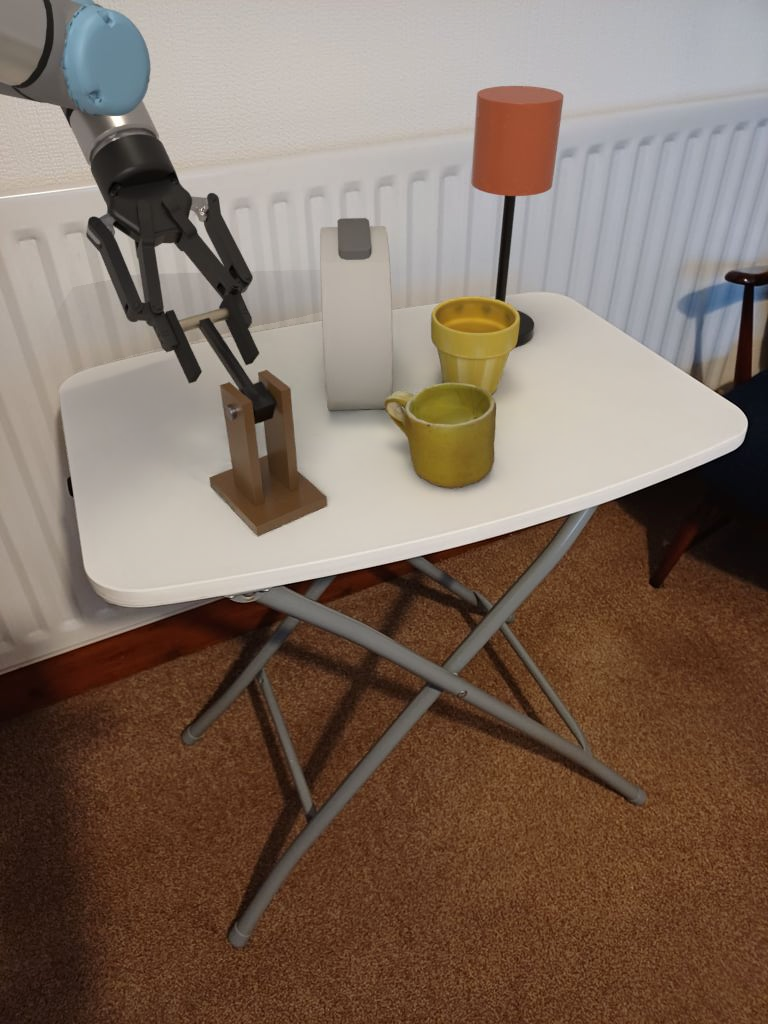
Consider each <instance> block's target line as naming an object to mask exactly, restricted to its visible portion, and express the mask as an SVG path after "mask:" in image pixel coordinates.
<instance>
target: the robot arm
mask: <svg viewBox="0 0 768 1024" xmlns="http://www.w3.org/2000/svg"><path fill="white" fill-rule="evenodd" d="M151 70H152V69H151V58H150V52H149V49H148V46H147V43H146V40H145V39H144V36H143V34H142V33H141V31H140V29H139V28H138V27H137V26H136V25H135V23H134V22H133V21H132V20H131V19H130V18H129V17H128V16H126V15H125V14H123V13H121V12H120V11H117V10H115V9H111V8H107V7H103V5H100V4H98V3H95V1H94V0H0V95H2V96H7V97H12V98H16V99H22V100H26V101H33V102H36V103H40V104H48V105H52V106H53V105H54V106H58V107H60V109H61V111H62V113H63V115H64V117H65V119H66V121H67V124H68V125H69V127H70V129H71V130H72V133H73V135H74V137H75V139H76V142H77V144H78V146H79V149H80V151H81V152H82V154H83V157H84V159H85V161H86V163H87V165H88V166H89V167H90V172H91V175H92V177H93V179H94V181H95V183H96V185H97V188H98V190H99V192H100V194H101V196H102V199H103V201H104V202H105V204H106V207H107V208H106V209H107V210H106V213H105V214H104V215H102V216H100V217H97V216H95V215H93V216H90V217H89V218H88V221H87V226H86V232H85V236H86V238H87V239H88V241H89V242H90V243H91V244H92V245H93V246H94V247H95V248H96V250H97V251H98V252H99V254H100V256H101V259H102V261H103V264H104V266H105V268H106V271H107V274H108V276H109V278H110V281H111V283H112V285H113V288H114V290H115V292H116V295H117V297H118V300H119V303H120V304H121V305H120V306H121V307H122V310H123V312H124V314H125V316H126V319H127V321H129V322H131V323H137V322H138V321H141V322H145V323H146V325H148V326H149V327H151V328H152V329H153V330H154V333H155V335H156V337H157V339H158V342H159V344H160V346H161V348H162V349H163V351H164V352H165V353H170V352H174V355H175V356H176V359H177V360H178V362H179V365H180V367H181V369H182V371H183V373H184V376H185V378H186V380H187V382H188V384H193V383H195V382H197V381H198V379H199V377H200V376H201V374H202V372H203V370H202V368H201V366H200V364H199V361H198V360H197V357H196V356H195V353H194V351H193V349H192V347H191V344H190V342H189V340H188V338H187V336H186V334H185V332H184V331H183V329H182V327H181V325H180V323H179V321H178V320H179V318H178V316H177V314H176V312H175V310H174V309H170V310H167V311H165V307H164V300H163V293H162V286H161V280H160V279H161V278H160V272H159V267H158V260H157V253H156V248H157V247H158V246H161V245H162V244H174V245H175V246H176V248H177V249H178V250H179V251H180V252H182V253H184V254H185V255H186V256H187V257H188V259H189V260H190V261H191V263H192V264H193V265H194V266H195V268H196V269H197V270H198V271H199V272H200V273H201V275H202V276H203V277H204V278H205V279H206V281H207V282H208V283H209V284H210V286H211V287H212V288H213V290H215V292H216V293H217V294H218V296H219V297H220V298H221V299H222V301H221V302H220V305H219V306H218V309H220V308H224V307H226V308H227V309H228V311H229V313H230V318H229V319H228V320H224V321H225V324H226V326H227V328H228V330H229V333H230V334H231V337H232V339H233V341H234V343H235V345H236V348H237V350H238V352H239V354H240V355H241V358H242V361H243V362H244V365H245V366H248V365H251V364H253V363H254V362H255V360H256V359H257V358H258V356H259V355H260V351H259V348H258V346H257V345H256V342H255V340H254V337H253V336H252V334H251V331H250V329H249V328H250V327H251V325H252V323H253V317H252V315H251V313H250V310H249V309H248V306H247V304H246V302H245V300H244V298H243V296H242V295H243V294H244V293H245V292H247V290H248V288H249V287H250V285H251V284H252V281H253V279H254V277H253V274H252V271H251V270H250V268H249V265H248V264H247V262H246V260H245V258H244V256H243V255H242V252H241V251H240V248H239V246H238V245H237V243H236V241H235V238H234V237H233V235H232V233H231V230H230V229H229V226H228V225H227V223H226V221H225V219H224V216H223V215H222V212H221V211H222V210H221V204H220V203H221V202H220V197H219V196H218V195H217V194H216V193H214V192H210V193H208V194H207V195H206V197H202V196H192V195H191V193H190V192H189V191H188V190H187V189H185V188H184V186H183V185H182V184H181V183H180V180H179V176H178V174H177V172H176V169H175V167H174V165H173V163H172V160H171V158H170V156H169V154H168V152H167V150H166V148H165V146H164V144H163V142H162V141H161V140H160V134H159V132H158V130H157V128H156V126H155V124H154V122H153V119H152V118H151V116H150V114H149V111H148V109H147V107H146V105H145V103H144V101H143V100H144V98H145V97H146V94H147V92H148V89H149V83H150V81H151V80H150V79H151V78H150V75H151ZM191 212H194V214H196V217H197V218H198V221H199V222H201V223H203V226H204V229H205V231H206V234H207V236H208V238H209V240H210V241H211V243H212V245H213V248H214V249H215V251H216V254H217V255H216V254H215V253H214V251H212V249H211V248H210V247H209V246H208V245H207V243H206V242H205V241H204V240H203V238H202V237H201V235H199V233H198V229H197V227H196V226H195V225H194V223H193V222H192V221H191V219H190V213H191ZM115 229H117V230H118V231H120V232H122V234H124V235H126V236H127V237H129V238H130V239H132V240H133V242H134V247H135V253H136V254H135V255H136V258H137V260H138V261H137V262H138V267H139V274H140V281H141V286H142V288H141V289H142V293H143V301H144V302H143V301H142V300H141V298H140V294H139V292H138V290H137V287H136V285H135V282H134V280H133V278H132V276H131V273H130V271H129V268H128V266H127V263H126V261H125V258H124V256H123V254H122V251H121V249H120V246H119V243H118V242H117V240H116V237H115V234H116V230H115ZM217 256H218V257H219V258H218V257H217Z"/></svg>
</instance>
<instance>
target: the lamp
mask: <svg viewBox="0 0 768 1024" xmlns="http://www.w3.org/2000/svg"><path fill="white" fill-rule="evenodd" d="M475 103H476V104H475V117H474V133H473V147H472V148H473V149H472V162H471V163H472V164H471V176H470V177H471V178H470V179H471V180H470V183H471V185H472V187H474V188H475V189H476V190H478V191H481V192H484V193H486V194H491V195H497V196H504V199H503V207H502V209H503V210H502V220H501V231H500V232H501V233H500V242H499V251H498V253H499V254H498V264H497V273H496V284H495V285H496V286H495V295H494V299H496V300H500V301H503V302H505V303H506V298H507V289H508V288H507V287H508V279H509V278H508V277H509V268H510V258H511V249H512V237H513V229H514V220H515V219H514V218H515V207H516V198H517V197H528V196H535V195H540V194H543V193H546V192H548V191H549V190H551V189H552V188H553V182H554V174H555V166H556V159H557V151H558V144H559V135H560V129H561V120H562V114H563V113H562V111H563V105H564V94H563V93H561V92H560V91H558V90H555V89H551V88H546V87H541V86H529V85H528V86H527V85H501V86H492V87H487V88H483V89H480V90H479V91H477V92H476V102H475ZM516 310H517V311H518V313H519V315H520V325H519V333H518V339H517V344H516V346H515V347H514V348H517V347H521V346H524V345H526V344H528V343H529V342H530V341H531V340H532V339H533V336H534V331H535V321H534V320H533V318H532V317H531V316H530V315H529V314H527V313H525V312H524V311H520V310H518V309H516Z"/></svg>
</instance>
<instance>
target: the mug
mask: <svg viewBox="0 0 768 1024" xmlns="http://www.w3.org/2000/svg"><path fill="white" fill-rule="evenodd" d="M492 395H493V394H490V393H489V392H487V391H486V390H484V389H482V388H479V387H477V386H475V385H470V384H463V383H444V382H443V383H437V384H433V385H430V386H428V387H424V388H423V389H421V390H419V391H418V392H416V394H415V395H413V394H412V393H410V392H409V391H406V390H402V389H401V390H397V391H395V392H393V393H392V395H391V396H389V397H388V398H387V399H386V400H385V403H384V405H385V408H386V409H385V410H386V413H387V414H388V417H389V418H390V419H391V420H392V422H393V423H394V424H395V425H396V426H397V427H398V428H399V429H400V430H401V431H402V432H403V434H404V435H405V437H406V438H407V442H408V448H409V454H410V459H411V463H412V467H413V470H414V472H415V474H416V475H418V477H419V478H421V479H423V480H426V481H428V482H429V483H430V484H431V485H435V486H437V487H440V488H448V489H460V488H463V487H466V486H468V485H472V484H473V485H474V484H476V483H480V482H481V481H482V480H483V479H485V477H486V476H488V475H489V474H490V472H491V471H492V468H493V465H494V462H495V439H496V429H497V428H496V421H497V402H496V400H495V398H494V396H492Z"/></svg>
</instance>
